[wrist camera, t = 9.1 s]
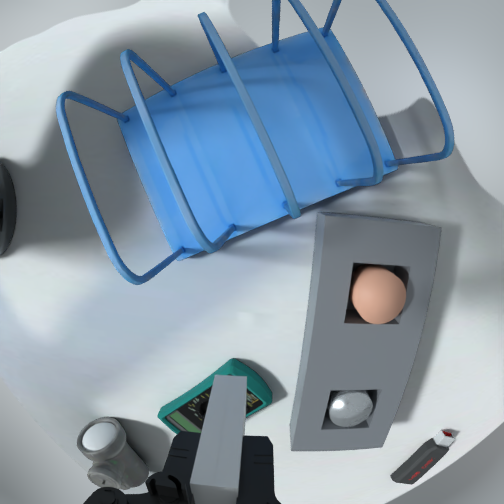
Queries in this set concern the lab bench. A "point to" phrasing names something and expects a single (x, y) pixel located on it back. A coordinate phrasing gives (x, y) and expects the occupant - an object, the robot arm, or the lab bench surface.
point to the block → (360, 328)
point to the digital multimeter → (196, 400)
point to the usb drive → (423, 458)
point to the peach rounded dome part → (376, 293)
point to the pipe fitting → (111, 455)
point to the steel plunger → (349, 407)
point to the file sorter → (250, 137)
